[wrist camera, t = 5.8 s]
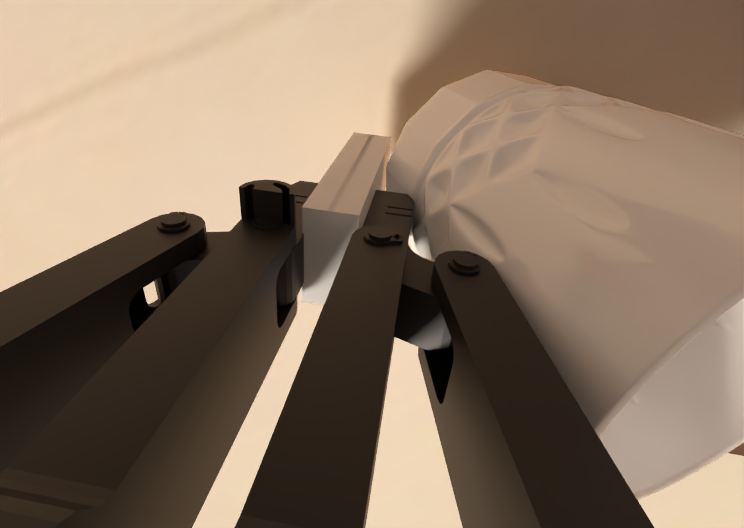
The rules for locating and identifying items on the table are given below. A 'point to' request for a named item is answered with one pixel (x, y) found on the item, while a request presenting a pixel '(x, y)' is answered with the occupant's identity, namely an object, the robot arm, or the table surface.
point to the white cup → (599, 252)
